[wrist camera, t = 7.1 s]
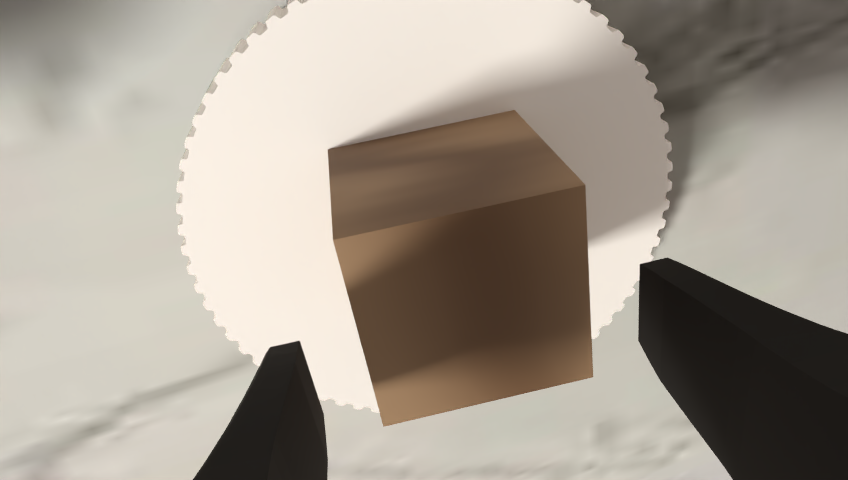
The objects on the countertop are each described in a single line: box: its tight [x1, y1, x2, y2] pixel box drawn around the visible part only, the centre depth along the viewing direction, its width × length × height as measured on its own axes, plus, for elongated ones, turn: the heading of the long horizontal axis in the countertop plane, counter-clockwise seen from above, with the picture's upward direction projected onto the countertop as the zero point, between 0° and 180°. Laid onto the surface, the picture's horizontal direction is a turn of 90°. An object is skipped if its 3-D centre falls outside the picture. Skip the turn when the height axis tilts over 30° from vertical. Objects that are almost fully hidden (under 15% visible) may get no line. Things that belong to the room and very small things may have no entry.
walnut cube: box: [328, 110, 593, 426], centre depth 16 cm, size 5×5×5 cm
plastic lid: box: [176, 0, 673, 412], centre depth 19 cm, size 14×14×2 cm
